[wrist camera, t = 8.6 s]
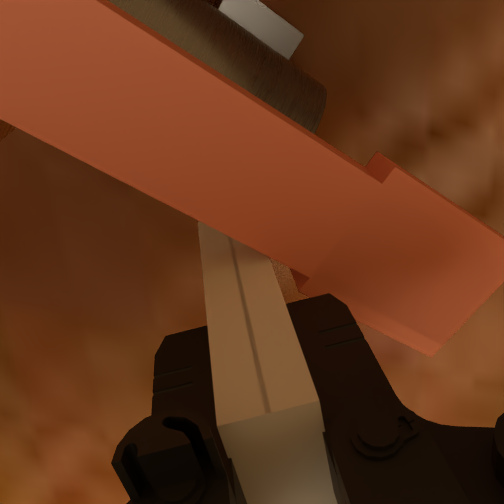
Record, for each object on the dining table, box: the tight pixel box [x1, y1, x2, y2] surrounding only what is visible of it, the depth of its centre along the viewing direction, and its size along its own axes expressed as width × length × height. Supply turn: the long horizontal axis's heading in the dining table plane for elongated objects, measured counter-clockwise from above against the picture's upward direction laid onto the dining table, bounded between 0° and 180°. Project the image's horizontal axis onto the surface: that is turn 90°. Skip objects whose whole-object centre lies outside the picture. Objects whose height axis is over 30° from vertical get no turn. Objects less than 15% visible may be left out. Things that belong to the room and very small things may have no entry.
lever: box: [0, 0, 504, 357], centre depth 9 cm, size 16×4×1 cm, turn 57°
